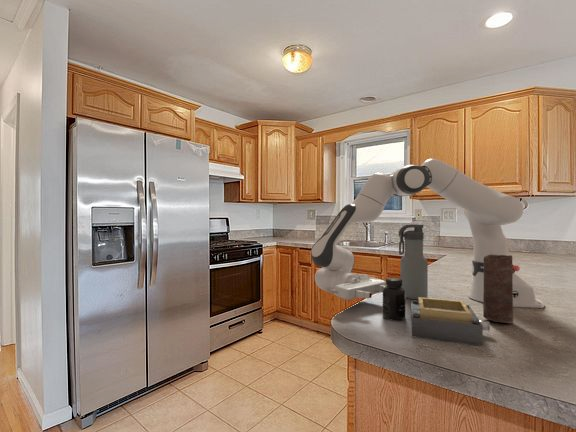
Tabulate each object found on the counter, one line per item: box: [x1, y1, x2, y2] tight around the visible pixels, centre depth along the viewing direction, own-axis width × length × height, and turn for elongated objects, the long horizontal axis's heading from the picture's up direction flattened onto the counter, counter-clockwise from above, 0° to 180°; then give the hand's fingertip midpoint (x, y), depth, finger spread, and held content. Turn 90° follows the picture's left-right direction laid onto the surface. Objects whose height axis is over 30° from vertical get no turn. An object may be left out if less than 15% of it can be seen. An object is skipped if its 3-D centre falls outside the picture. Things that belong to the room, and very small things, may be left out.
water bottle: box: [398, 223, 429, 301], centre depth 120 cm, size 10×10×28 cm
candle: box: [482, 255, 514, 324], centre depth 92 cm, size 8×7×20 cm
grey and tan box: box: [410, 297, 491, 347], centre depth 85 cm, size 19×16×7 cm
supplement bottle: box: [382, 277, 407, 322], centre depth 96 cm, size 7×7×12 cm
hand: (379, 293), depth 101 cm, fingers open, 8 cm apart
